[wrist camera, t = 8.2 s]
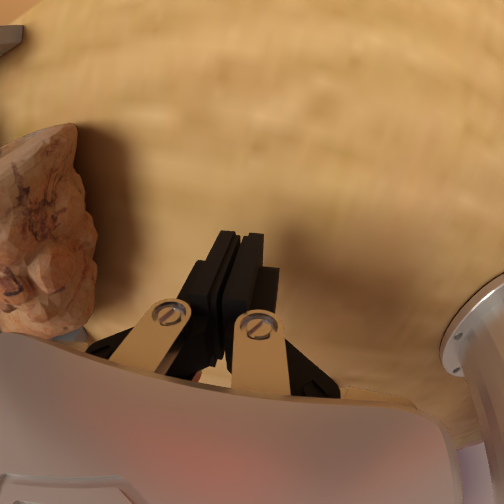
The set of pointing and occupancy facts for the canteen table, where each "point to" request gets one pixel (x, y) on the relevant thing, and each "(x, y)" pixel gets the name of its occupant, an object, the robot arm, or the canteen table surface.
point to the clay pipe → (44, 236)
